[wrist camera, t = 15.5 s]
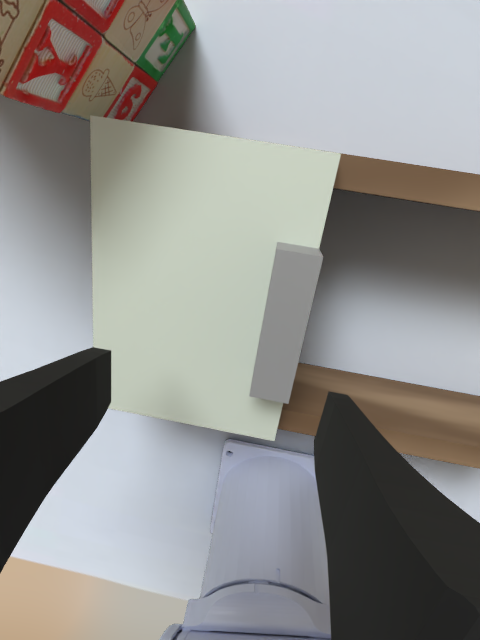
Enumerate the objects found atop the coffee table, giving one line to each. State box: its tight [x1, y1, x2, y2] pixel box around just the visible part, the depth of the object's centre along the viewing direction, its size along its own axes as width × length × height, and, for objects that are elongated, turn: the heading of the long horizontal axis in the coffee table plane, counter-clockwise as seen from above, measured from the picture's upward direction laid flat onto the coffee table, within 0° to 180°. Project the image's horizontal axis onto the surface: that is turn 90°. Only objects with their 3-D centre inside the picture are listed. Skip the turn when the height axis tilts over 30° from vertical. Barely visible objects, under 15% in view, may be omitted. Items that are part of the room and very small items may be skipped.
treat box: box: [124, 120, 480, 468], centre depth 18 cm, size 13×22×5 cm, turn 82°
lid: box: [90, 115, 341, 441], centre depth 14 cm, size 13×9×2 cm
